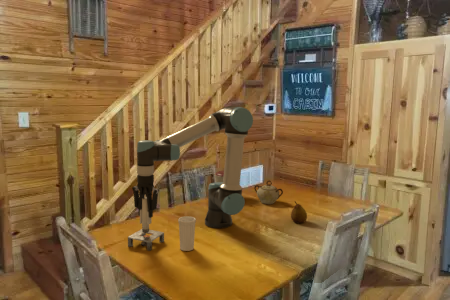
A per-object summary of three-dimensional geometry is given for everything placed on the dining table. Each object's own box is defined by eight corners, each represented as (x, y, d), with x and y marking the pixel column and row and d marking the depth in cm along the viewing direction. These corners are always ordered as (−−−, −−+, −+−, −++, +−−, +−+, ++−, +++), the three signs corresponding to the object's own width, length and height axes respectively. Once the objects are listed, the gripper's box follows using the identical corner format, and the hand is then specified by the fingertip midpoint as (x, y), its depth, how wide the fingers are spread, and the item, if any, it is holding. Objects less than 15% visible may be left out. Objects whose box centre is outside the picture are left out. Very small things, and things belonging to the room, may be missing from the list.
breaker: (151, 239, 174) (151, 235, 174) (147, 241, 171) (147, 238, 171) (145, 237, 176) (145, 234, 175) (140, 240, 172) (140, 237, 172)
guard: (164, 241, 177) (164, 232, 176) (150, 251, 166) (149, 241, 165) (143, 237, 181) (142, 228, 181) (128, 246, 170) (127, 236, 170)
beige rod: (150, 230, 173) (150, 198, 171) (146, 233, 171) (146, 199, 168) (144, 229, 175) (144, 197, 172) (140, 232, 172) (140, 198, 169)
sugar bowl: (285, 201, 247) (286, 180, 245) (278, 207, 234) (279, 184, 232) (257, 197, 255) (258, 176, 253) (249, 203, 242) (250, 181, 240)
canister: (240, 201, 245) (241, 170, 242) (213, 200, 246) (213, 170, 242) (239, 194, 263) (240, 165, 260) (214, 193, 263) (214, 164, 260)
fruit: (309, 221, 209) (310, 201, 207) (300, 225, 202) (302, 204, 200) (296, 218, 215) (297, 198, 213) (287, 221, 208) (288, 201, 206)
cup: (188, 254, 164) (188, 223, 161) (174, 249, 168) (174, 219, 166) (199, 247, 170) (199, 218, 168) (185, 243, 175) (185, 215, 172)
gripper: (165, 174, 169) (164, 223, 172) (135, 170, 175) (135, 218, 178) (156, 177, 162) (156, 228, 166) (125, 173, 168) (126, 223, 172)
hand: (145, 223), depth 172 cm, fingers closed on beige rod, 3 cm apart
